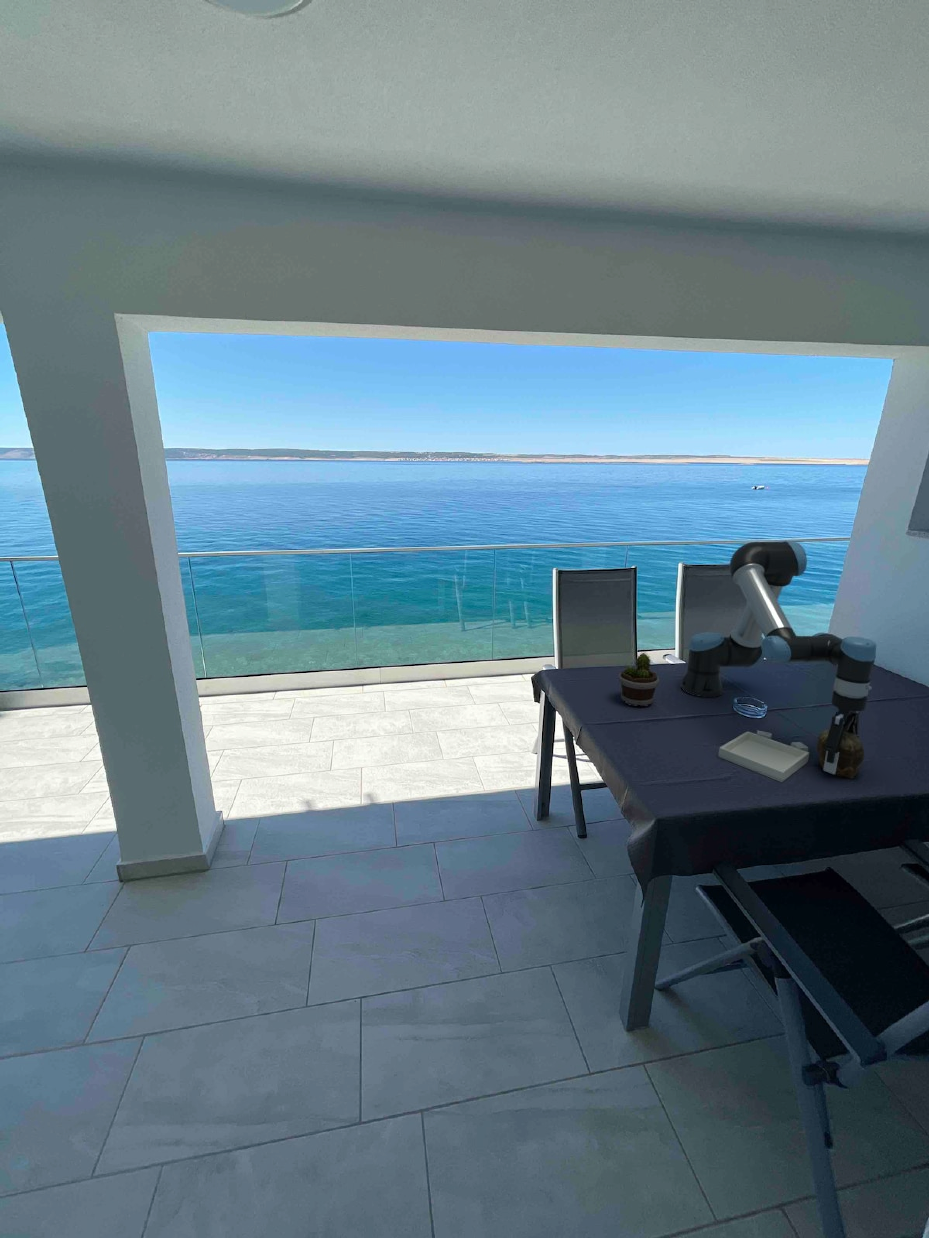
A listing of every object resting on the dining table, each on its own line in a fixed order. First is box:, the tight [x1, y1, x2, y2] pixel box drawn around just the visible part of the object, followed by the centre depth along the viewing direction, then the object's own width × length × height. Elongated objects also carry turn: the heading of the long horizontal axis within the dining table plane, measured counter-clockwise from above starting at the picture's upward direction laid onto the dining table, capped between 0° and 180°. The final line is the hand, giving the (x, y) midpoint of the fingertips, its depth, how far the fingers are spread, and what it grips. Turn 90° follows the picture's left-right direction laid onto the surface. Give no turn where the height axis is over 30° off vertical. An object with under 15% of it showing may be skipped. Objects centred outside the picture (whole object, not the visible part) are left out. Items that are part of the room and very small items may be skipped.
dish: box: [717, 730, 810, 783], centre depth 150 cm, size 18×18×3 cm
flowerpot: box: [617, 651, 660, 707], centre depth 190 cm, size 14×15×20 cm
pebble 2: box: [790, 741, 809, 752], centre depth 154 cm, size 4×3×2 cm
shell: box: [816, 728, 865, 779], centre depth 142 cm, size 11×11×12 cm
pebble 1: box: [756, 729, 772, 740], centre depth 162 cm, size 4×3×2 cm
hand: (837, 765), depth 143 cm, fingers closed on shell, 11 cm apart
